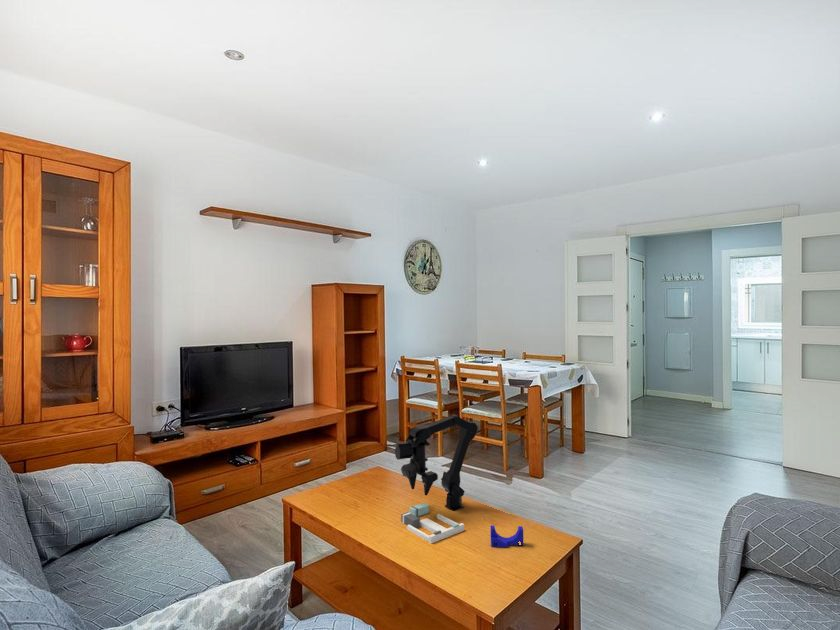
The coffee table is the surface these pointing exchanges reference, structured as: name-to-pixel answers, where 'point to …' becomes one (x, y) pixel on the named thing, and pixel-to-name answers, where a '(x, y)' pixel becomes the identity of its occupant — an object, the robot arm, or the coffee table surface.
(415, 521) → the dark grey block
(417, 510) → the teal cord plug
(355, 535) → the coffee table surface
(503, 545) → the blue cradle block
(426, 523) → the slot rack
